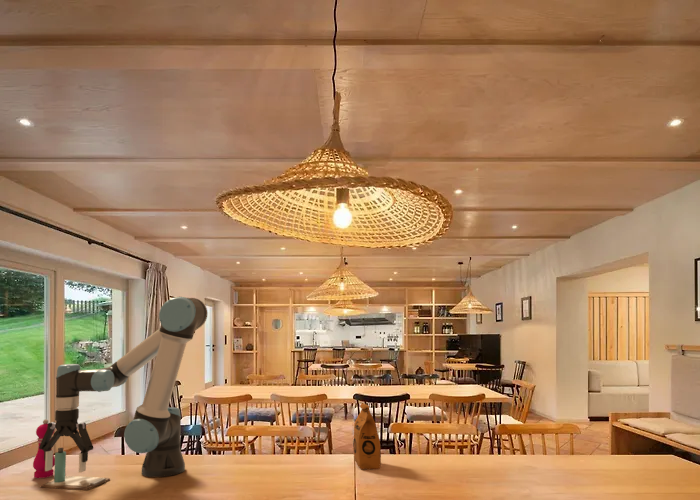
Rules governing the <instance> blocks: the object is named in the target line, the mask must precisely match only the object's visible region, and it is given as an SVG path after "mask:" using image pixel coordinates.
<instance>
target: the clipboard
mask: <svg viewBox="0 0 700 500" xmlns="http://www.w3.org/2000/svg"><path fill="white" fill-rule="evenodd" d="M109 481H111V478H108V477H97V476H95V477H94V476H74V475H65V481H63V482H54V480H51V481H50V482H47V483H45V484H42V485H40V489H41V488H43V489H61V490H63V489H64V490H76V491H77V490H79V491H81V490H82V491H89V490H91V489H93V488H96V487H98V486H100V485H102V484H105V483H107V482H109Z"/></svg>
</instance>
